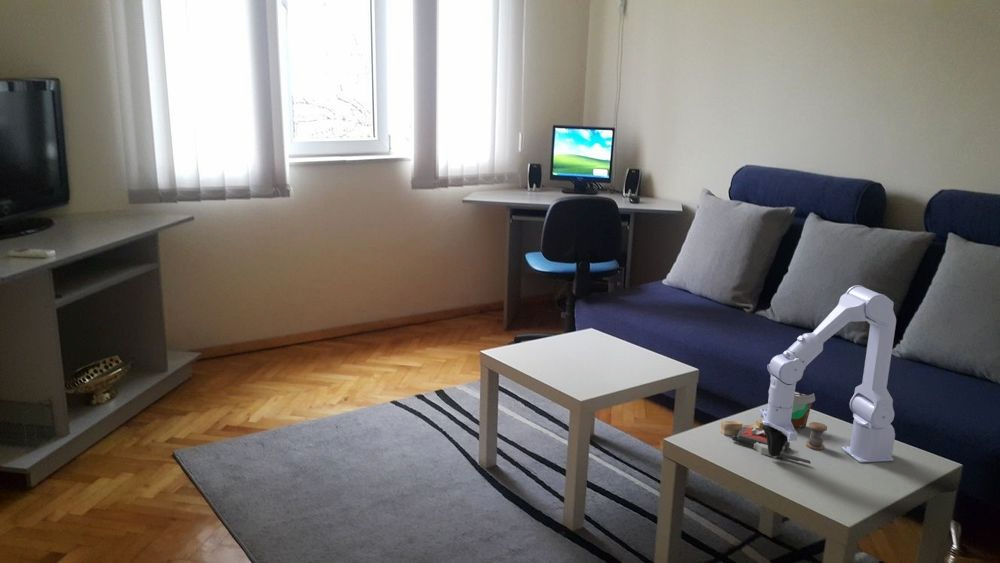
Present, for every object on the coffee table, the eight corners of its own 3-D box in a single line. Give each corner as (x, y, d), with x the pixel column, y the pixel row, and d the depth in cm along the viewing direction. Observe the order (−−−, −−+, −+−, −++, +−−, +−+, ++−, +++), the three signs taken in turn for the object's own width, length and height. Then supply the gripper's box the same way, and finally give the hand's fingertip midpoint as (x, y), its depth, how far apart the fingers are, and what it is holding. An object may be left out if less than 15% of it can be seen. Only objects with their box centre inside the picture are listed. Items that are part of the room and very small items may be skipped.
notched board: (772, 429, 209) (773, 419, 208) (775, 432, 207) (777, 422, 206) (720, 431, 206) (721, 421, 205) (723, 434, 204) (724, 424, 203)
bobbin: (818, 442, 202) (820, 421, 200) (827, 449, 197) (830, 429, 196) (802, 443, 201) (805, 422, 199) (811, 450, 197) (814, 429, 195)
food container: (759, 423, 212) (763, 389, 210) (765, 416, 217) (770, 382, 215) (805, 435, 206) (810, 400, 203) (811, 427, 210) (816, 393, 208)
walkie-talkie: (728, 446, 199) (808, 469, 187) (730, 430, 198) (810, 453, 186) (739, 434, 206) (817, 456, 194) (741, 419, 205) (820, 440, 193)
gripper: (750, 393, 193) (745, 442, 197) (780, 416, 180) (773, 469, 183) (776, 392, 195) (770, 441, 198) (808, 415, 181) (801, 468, 184)
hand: (773, 454), depth 190 cm, fingers closed
